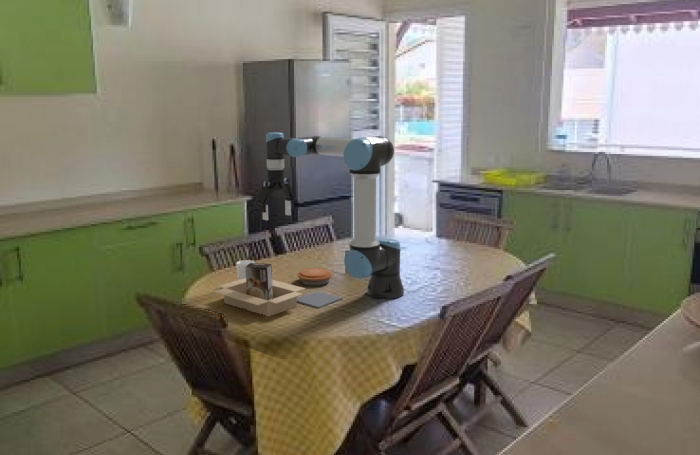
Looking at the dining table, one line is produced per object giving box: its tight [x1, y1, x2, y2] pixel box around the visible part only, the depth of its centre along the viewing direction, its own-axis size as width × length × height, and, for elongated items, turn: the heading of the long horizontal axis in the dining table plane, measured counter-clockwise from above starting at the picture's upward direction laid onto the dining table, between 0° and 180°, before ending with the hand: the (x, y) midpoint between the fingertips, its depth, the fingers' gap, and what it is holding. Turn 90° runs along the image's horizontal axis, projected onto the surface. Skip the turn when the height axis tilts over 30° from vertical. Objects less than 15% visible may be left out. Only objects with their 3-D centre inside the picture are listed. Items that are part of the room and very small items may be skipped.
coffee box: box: [245, 262, 273, 301], centre depth 246 cm, size 9×6×16 cm
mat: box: [297, 290, 343, 309], centre depth 253 cm, size 14×14×1 cm
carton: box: [213, 278, 306, 317], centre depth 247 cm, size 33×25×6 cm
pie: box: [296, 267, 333, 286], centre depth 277 cm, size 16×16×5 cm
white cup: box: [235, 259, 256, 280], centre depth 273 cm, size 8×8×10 cm
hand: (277, 217), depth 276 cm, fingers open, 13 cm apart
